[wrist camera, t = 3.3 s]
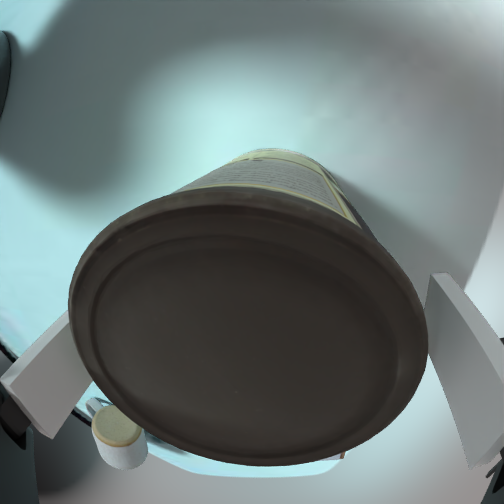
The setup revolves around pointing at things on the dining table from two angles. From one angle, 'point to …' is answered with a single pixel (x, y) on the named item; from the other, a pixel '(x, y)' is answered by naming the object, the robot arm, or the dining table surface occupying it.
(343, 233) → the coffee can
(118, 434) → the ceramic mug
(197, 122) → the dining table surface
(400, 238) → the dining table surface
